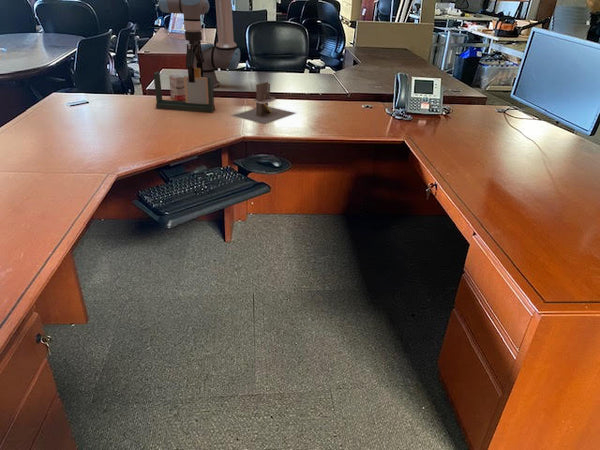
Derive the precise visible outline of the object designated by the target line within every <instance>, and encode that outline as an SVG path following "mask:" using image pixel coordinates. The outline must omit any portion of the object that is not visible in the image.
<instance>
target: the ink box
mask: <svg viewBox="0 0 600 450" xmlns="http://www.w3.org/2000/svg"><path fill="white" fill-rule="evenodd" d="M168 78H169V89H170V98H171V99H172V100H174V101H186V99H185V86H184V76H182V75H180V74H169V76H168Z"/></svg>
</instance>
